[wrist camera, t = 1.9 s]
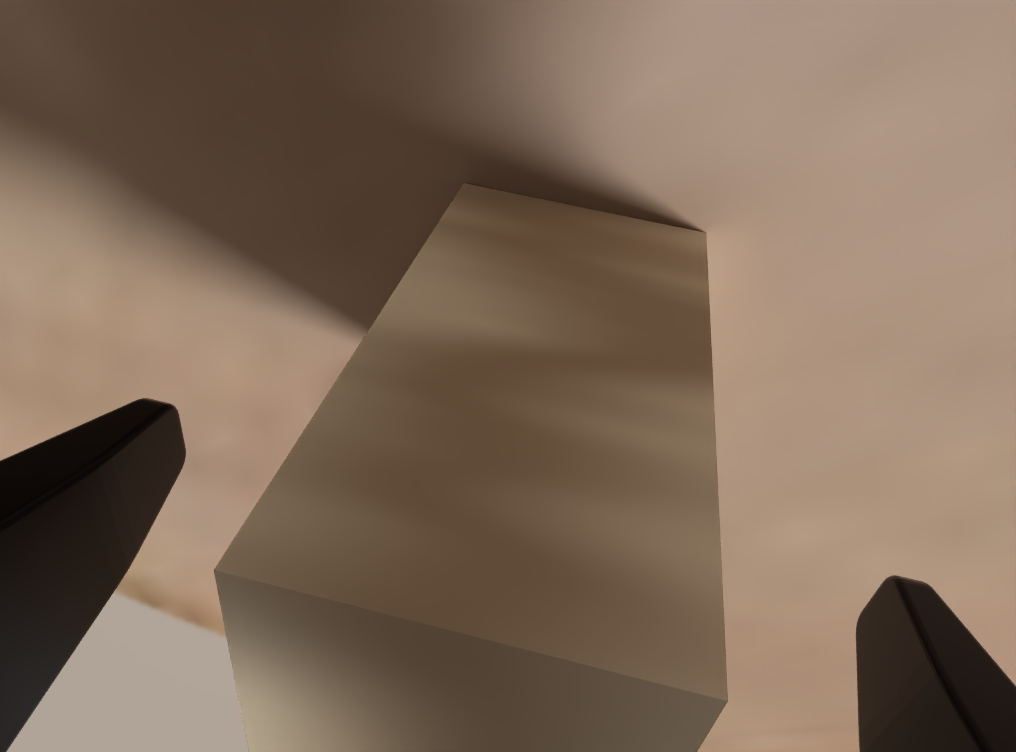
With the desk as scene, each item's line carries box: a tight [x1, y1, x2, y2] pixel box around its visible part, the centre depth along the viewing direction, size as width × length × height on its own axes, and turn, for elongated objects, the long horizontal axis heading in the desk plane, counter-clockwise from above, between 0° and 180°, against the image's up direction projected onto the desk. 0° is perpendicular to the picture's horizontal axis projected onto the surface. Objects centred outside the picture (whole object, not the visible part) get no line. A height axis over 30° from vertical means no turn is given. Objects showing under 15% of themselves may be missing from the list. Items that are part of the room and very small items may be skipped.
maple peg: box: [214, 183, 728, 752], centre depth 10 cm, size 4×4×8 cm
